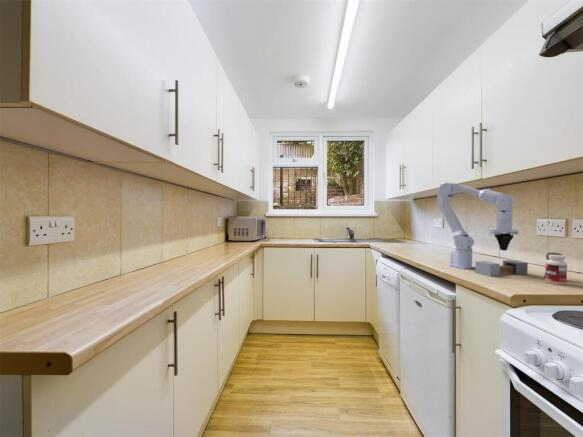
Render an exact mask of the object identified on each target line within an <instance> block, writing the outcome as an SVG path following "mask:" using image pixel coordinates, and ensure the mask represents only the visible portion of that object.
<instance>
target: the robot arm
mask: <svg viewBox="0 0 583 437" xmlns="http://www.w3.org/2000/svg"><path fill="white" fill-rule="evenodd" d="M436 192H437V198H436V203H437V206H438V208H439V209H440V211H441V213H442V215H443V217H444V218H445V221H446V222H447V224H448V227H449V228H450V230H451V232H452V238H453V239H454V246H455V248H453V249H451V251H450V255H449V257H450V260H449V263H450V264H448V266H450V267H454V268H455V267H456V268H459V269H465V270H468V269H475V266H473V246H474V243H475V242H474V239H473V238H472V237H471V236H470V235H469V234H468V232H467V231H466V230H465V229H464V228H463V226H462V224H461V222H460V220H459V218H458V216H457V214H456V213H455V211H454V209H453V207H452V205H451V203H450V201H451V199H452V198H453V197H454V196H455V195H456V194H461V193H463V194H467V195H472V196H474V197H478V200H480V201H482V202H485V203H489V204H491V205H492V204H493V205H496V206H497V211H496V229H490V230H489V235H492V236H493V235H494V237H495V238H496V241H497V242H498V246H499V250H501V251H507V250H508V247H509V245H510V242H511V241H512V240H513V239H514V235H520V234H519V229H517V230H516V229H513V214H514V213H513V212H514V211H513V204H514V203H515V200H514V197H513V196H512V195H510V194H505V193H504V192H502V191H500V192H498V191H495V190H492V188H483V189H477V188H474V187H472V186H468V185H464V184H460V183H454V182H452V183H450V182H447V181H444V182H442V183H440V184H439V185H438V188H437V190H436Z"/></svg>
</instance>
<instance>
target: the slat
mask: <svg viewBox="0 0 583 437" xmlns="http://www.w3.org/2000/svg"><path fill="white" fill-rule="evenodd" d="M501 275H502V276H503V275H517V274H516V266H510V265H507V266H503V265H500V269H499V276H501Z"/></svg>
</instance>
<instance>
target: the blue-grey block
mask: <svg viewBox="0 0 583 437" xmlns="http://www.w3.org/2000/svg"><path fill="white" fill-rule="evenodd" d="M500 266H501V265H500V263H496V262H491V261H488V260H487V261H486V260H477V261H475V266H474V267H475V268H474V269H475V274H479V275H482V276H483V275H484V276H488V277H499V276H500V275H499V269H500Z"/></svg>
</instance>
